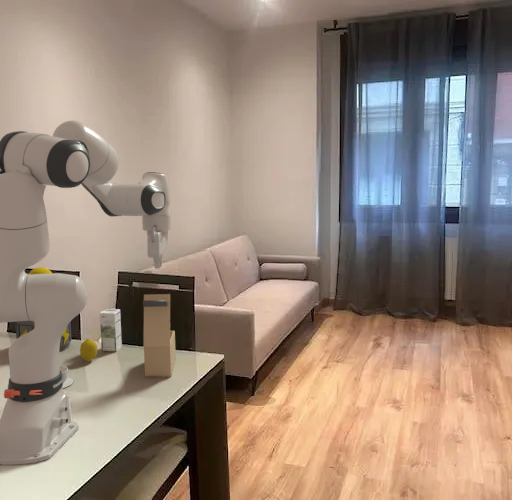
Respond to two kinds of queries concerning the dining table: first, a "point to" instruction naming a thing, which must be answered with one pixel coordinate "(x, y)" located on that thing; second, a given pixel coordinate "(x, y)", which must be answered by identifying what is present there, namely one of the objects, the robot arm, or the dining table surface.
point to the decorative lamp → (28, 326)
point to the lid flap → (156, 320)
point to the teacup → (65, 377)
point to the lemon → (88, 350)
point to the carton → (160, 359)
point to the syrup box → (110, 330)
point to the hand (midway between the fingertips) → (158, 267)
